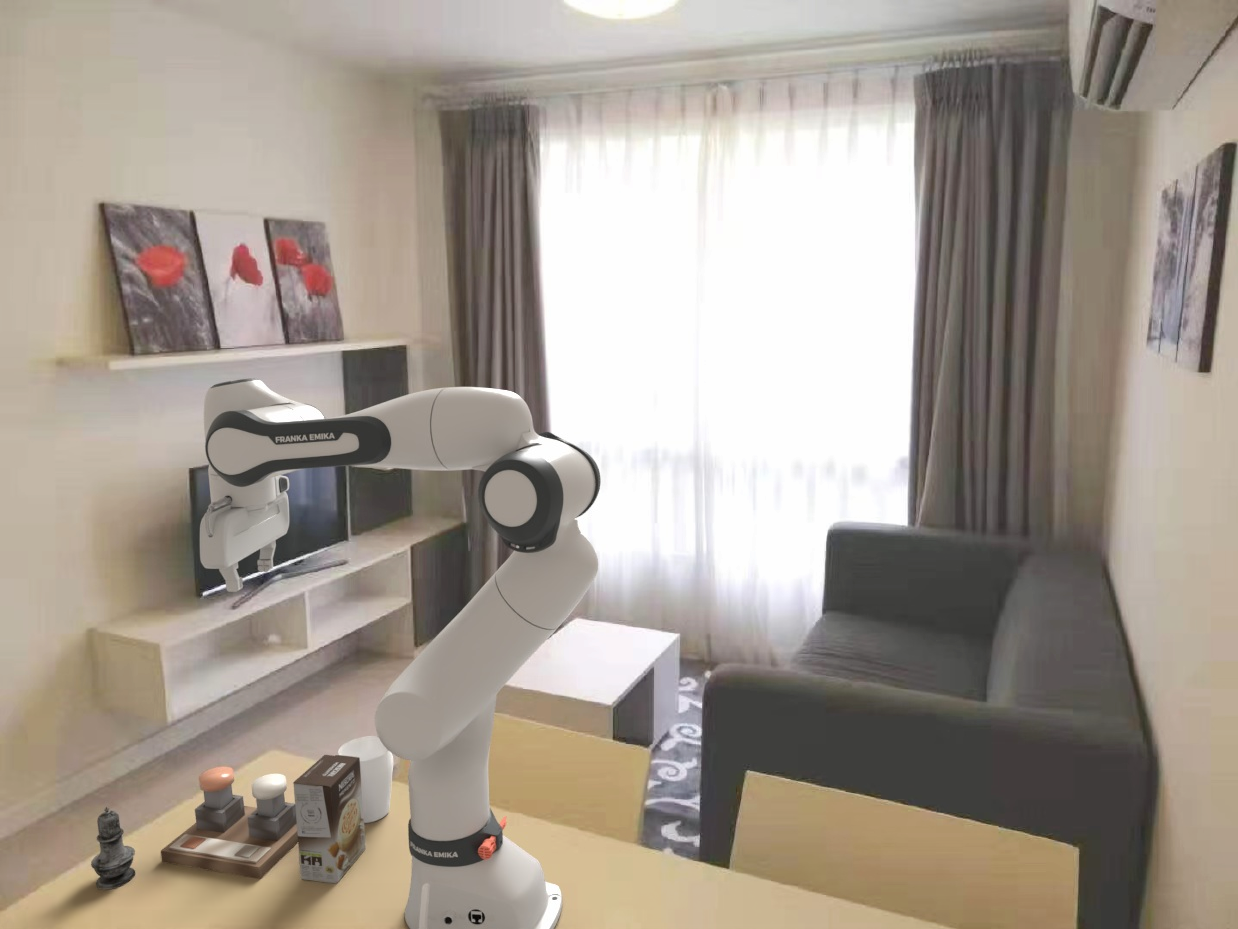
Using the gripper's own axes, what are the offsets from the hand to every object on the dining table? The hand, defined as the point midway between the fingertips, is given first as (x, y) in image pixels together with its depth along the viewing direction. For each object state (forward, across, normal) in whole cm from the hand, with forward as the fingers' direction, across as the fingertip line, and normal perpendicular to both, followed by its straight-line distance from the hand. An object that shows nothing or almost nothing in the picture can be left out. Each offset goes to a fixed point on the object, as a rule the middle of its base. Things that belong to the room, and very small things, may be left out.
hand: (250, 580), depth 131 cm
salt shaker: (+46, -6, +22) cm, 52 cm away
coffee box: (+46, -1, -10) cm, 47 cm away
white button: (+41, +4, +2) cm, 41 cm away
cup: (+46, +13, -11) cm, 49 cm away
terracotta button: (+41, +6, +12) cm, 43 cm away
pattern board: (+46, +3, +7) cm, 47 cm away
